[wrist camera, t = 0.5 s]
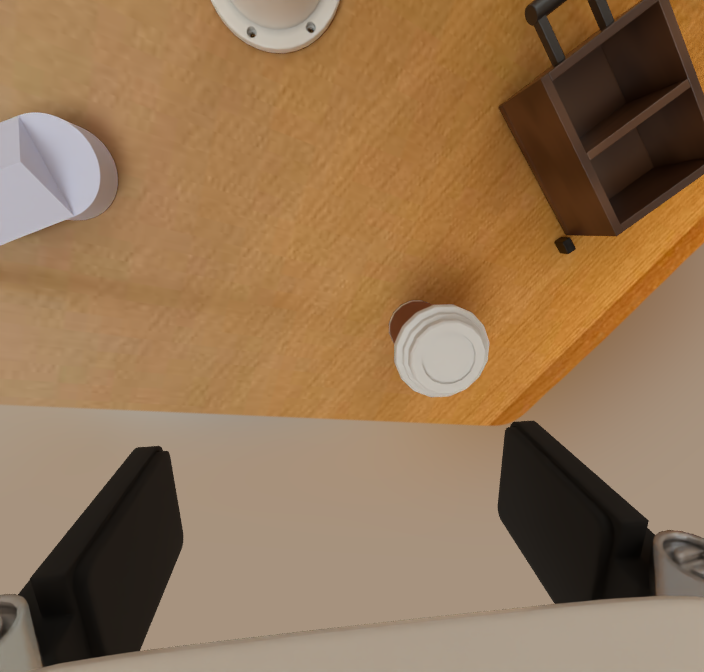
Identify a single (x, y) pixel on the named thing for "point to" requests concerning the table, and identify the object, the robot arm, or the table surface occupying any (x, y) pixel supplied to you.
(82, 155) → the wedge on round base
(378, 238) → the table surface
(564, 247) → the dark brown rod
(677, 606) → the robot arm
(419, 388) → the coffee cup
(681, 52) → the shelf
